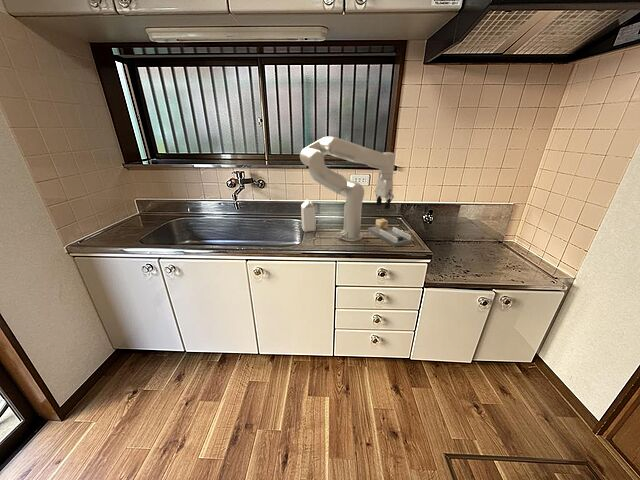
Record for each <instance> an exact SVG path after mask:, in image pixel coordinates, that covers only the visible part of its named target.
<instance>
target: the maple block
mask: <svg viewBox="0 0 640 480" xmlns="http://www.w3.org/2000/svg"><path fill="white" fill-rule="evenodd" d="M388 224H389V221H388V220H387V219H385V218H377V219H375V226H374V227H376V228H377V229H379V230H380V229H382V230H383V229H387V227H388V226H389V225H388Z"/></svg>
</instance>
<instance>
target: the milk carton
mask: <svg viewBox="0 0 640 480" xmlns="http://www.w3.org/2000/svg"><path fill="white" fill-rule="evenodd" d="M300 210H301V211H300V212H301V213H300V214H301V215H300V217H301V228H302V230H303V232H305V233H306V232H315V231H316V207H315V205H314V202H313V201H311V200H309V199H308V198H306V199H305V200H304V201H303V203H301V205H300Z"/></svg>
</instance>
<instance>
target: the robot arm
mask: <svg viewBox="0 0 640 480" xmlns="http://www.w3.org/2000/svg"><path fill="white" fill-rule="evenodd" d="M327 155H328V156H333V157H335V158H339V159H341V160H346V161H349V162H352V163H356V164H361V165H366V166H368V167H370V168H374V169H378V170H379V171H378V177H377V181H376V186H375V190H374V193H375V197H376V201H375V202H376V206H377V207H378V206H381V205H382V199H385V202H384V210H389V209H390V207H391V202H392V201H393V199H394V198H395V196H394V193H393V189H394V180H393V178H394V169H395V158H396V154H395V153H394V152H389V151H386V152H385V151H384V152H381V151H378V150H374V149H371V148H368V147H365V146H362V145H361V144H358V143H353V142H351V141H348V140H345V139H343V138H339V137H336V136H324V137H322V138H320V139H318V140H315V142H313V143H311V144H309V145H308V146H306V147H304V148H303V149H302V150H301V151H300V154H299V158H300V161H301V163H302V164H303V165H304V166H308V170H309V172H308V173H309V175H310V177H311V178H312V180H313V181H315V182H316V183H318V184H319V185H322V186H323V187H325V188H326V189H327V190H330V191H332V192H333V193H336V194H338V195H340V196H342V197H345V198H346V200H345V202H344V207H343V229H341V231H339V232H335V236H336V237H340V238H341V240H343V241H346V242H359V241H361V240H362V239H363V237H364V235H363V234H362V233H361V226H362V225H361V221H362V209H363V208H362V207H363V200H364V196H365V188H364V186H363V185H362V184H360V183H359V182H356V181H353V180H350V179H348V178H346V177H345V176H344V175H343V174H341V173H339V172H335V171H334V170H332V169H330V168H329V167H327V166H326V163H325V156H327Z"/></svg>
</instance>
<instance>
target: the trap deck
mask: <svg viewBox="0 0 640 480" xmlns="http://www.w3.org/2000/svg"><path fill="white" fill-rule="evenodd" d="M367 232H369V233H370V234H372V235H373V236H376V237H377V238H379V239H380V240H382V241H383V242H385V243H387V244H388V245H390V246H392V247H393V248H394V247H395V248H396V247H399V246H405V245H409V244H412V243H413V239H412V235H411V234H409V233H406V232H405V231H403V230H401V229H399V228H397V227H395V226H393V227H392V228H391V227H389V226H387V229H383V230H382V229H380V230H379V229H377V228H376V227H375V226H371V227H368V228H367Z"/></svg>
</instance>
